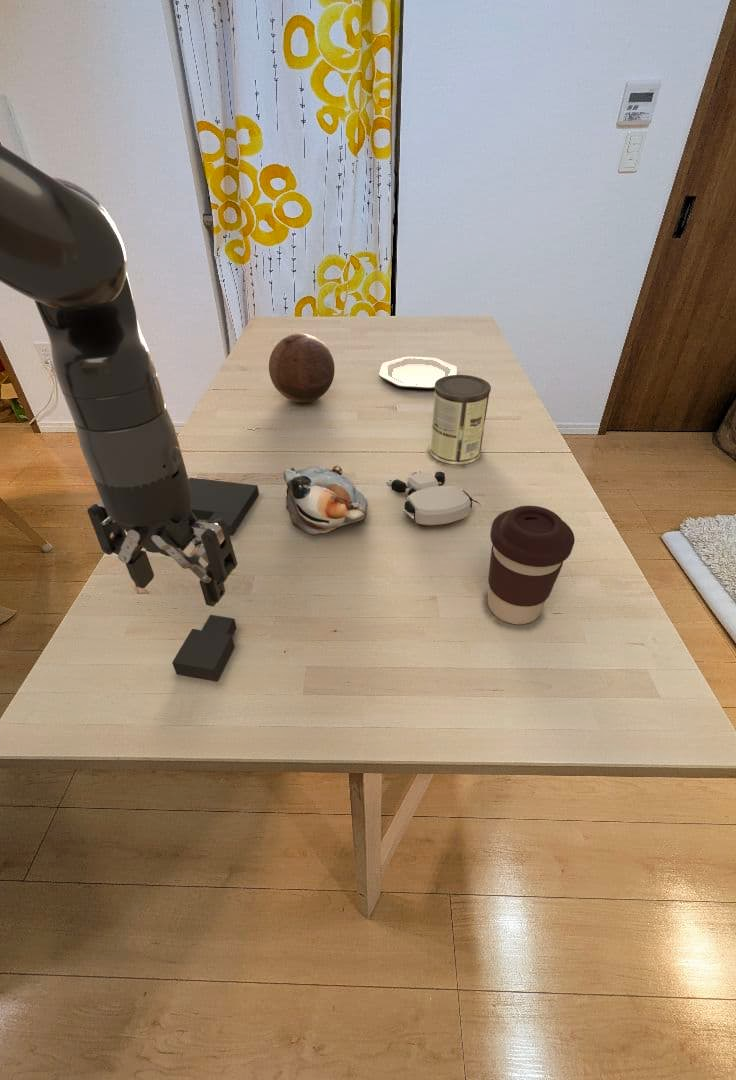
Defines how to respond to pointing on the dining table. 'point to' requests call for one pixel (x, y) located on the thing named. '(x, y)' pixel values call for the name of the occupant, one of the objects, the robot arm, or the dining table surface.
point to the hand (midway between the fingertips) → (180, 591)
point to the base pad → (222, 501)
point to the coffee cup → (525, 561)
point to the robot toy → (432, 498)
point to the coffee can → (459, 418)
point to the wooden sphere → (301, 367)
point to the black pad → (206, 649)
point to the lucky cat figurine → (322, 499)
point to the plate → (415, 373)
